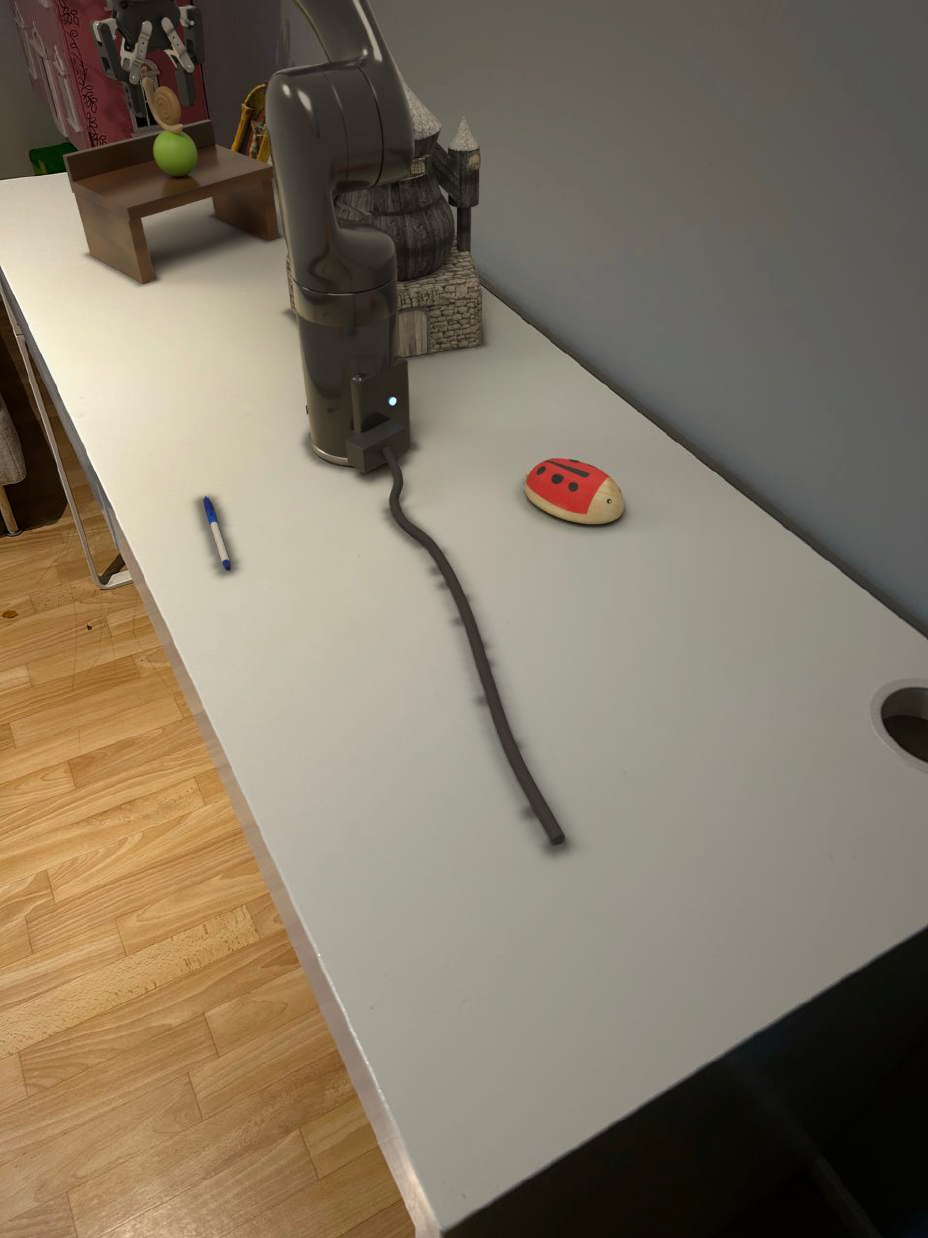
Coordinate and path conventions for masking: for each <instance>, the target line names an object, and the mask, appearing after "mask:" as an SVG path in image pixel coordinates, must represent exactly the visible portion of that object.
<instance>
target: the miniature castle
mask: <svg viewBox="0 0 928 1238" xmlns="http://www.w3.org/2000/svg"><path fill="white" fill-rule="evenodd" d="M390 54H391V56H392V59H393V61H394V64H395V66H396V69H397V71H398V74H399V77H400V79H401V82H402V85H403V88H404V91H405V93H406V97H407V100H408V103H409V108H410V112H411V116H412V121H413V127H414V136H415V155H414V160H413V164H412V167H411V169H410V171H409V173H408V174H407V175H406V176H405V177H404V178H403V179H402V180H400V181H397V182H395V183H391V184H387V185H383V186H378V187H374V188H369V189H365V190H360V191H355V192H350V193H345V194H340V195H334V196H333V201H334V208H335V213H336V216H338V217H341V218H346V219H351V220H356V221H361V222H365V223H369V224H372V225H374V226H377V227H379V228H381V229H383V230H384V231H386V232H387V233H388V234H389V235H390V236H391V237H392V239H393V240H394V243H395V246H396V255H397V287H398V314H399V336H400V356H402V357H404V358H406V357H411V356H412V357H413V356H420V355H426V354H428V355H429V354H432V353H439V352H445V351H453V350H457V349H458V350H459V349H465V348H471V347H477V346H480V345H481V344H482V328H483V327H482V325H483V324H482V322H483V321H482V320H483V291H482V285H481V282H480V279H479V278H480V277H479V275H478V272H477V269H476V266H475V262H474V258H473V255H472V250H471V249H472V208H474V207H477V206H478V205H479V204H480V168H481V165H482V163H481V162H482V156H481V152H480V151H481V145H480V143H478V141H477V140H476V138H475V137H474V135H473V133H472V131H471V129H470V126H469V123H468V120H467V118H466V115H463V116H462V118H461V121H460V123H459V126H458V128H457V131H456V133H455V135H454V137H453V138H452V139H451V141H450V142H449V143H448V144H447V151H446V149H444V147H443V146H441V144H440V143H439V142H438V140H439V137H440V134H441V131H442V123H441V121H440V120H439V119H438V118H437V117H436V116H435V115H434V114H433V113H432V112H431V111H430V110H429V109H428V108H427V107H426V105H424V103H423V102H422V101H421V100H420V99H419V98H418V96H417V95H416V94H415V93H414V92H413V91H412V89H411V88H410V87H409V86H408V85H407V83H406V81H405V79H404V77H403V75H402V74H403V73H401V71H400V68H399V67H398V65H397V63H396V61H395V59H394V57H393V55H392V53H391V52H390ZM441 188H442V190H444V191H445V193H447V199H446V197H445V196H444V194H443V193H442V190H441ZM451 207H453V208H456V227H455V218H454V213H453V210H452V208H451ZM285 259H286V260H285V269H286V271H285V272H286V278H287V287H288V293H289V295H288V296H289V303H290V309H291V310H290V311H291V314H292V315H293V316H294V317H295V318H296V310H295V300H294V292H293V283H292V274H291V266H290V259H289V255H288V253H287V254H286V258H285Z"/></svg>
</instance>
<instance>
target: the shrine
mask: <svg viewBox="0 0 928 1238" xmlns="http://www.w3.org/2000/svg"><path fill="white" fill-rule="evenodd" d="M269 80H270V78H269V79H265V80H264V83H263V84H260V85H257V86H255V88H253V89H252V90H251V91H250V92H249V94H247V97H246V99H245V100H244V103H241V110H242V112H241V117H240V121H239V124H238V127H237V130H236V134H235V136H234V137H235V138H234V141H233V143H232V146H231V148H230V150H232V151H235V152H237V153H240V154H243V155H245V156H248V157H250V158H253V159H256V160H258V161H261V162H263V163H266V164H268V162H269V159H270V157H271V156H270V150H269V145H268V138H267V131H266V123H265V94H266V89H267V85H268V83H269Z"/></svg>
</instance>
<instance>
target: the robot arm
mask: <svg viewBox="0 0 928 1238" xmlns="http://www.w3.org/2000/svg"><path fill="white" fill-rule="evenodd" d="M110 2H111V15H110V17H109V18H106V19H102V20H96V19H92V20H90V21H89V29H90V32H91V35H92V39H93V42H94V45H95V48H96V52H97V54H98V57H99V61H100V65H101V67H102V70H103V73H104V75H105V76H106V77H107V78H110V79H112V80H116V81H118V82H121V84H122V87H123V91H124V95H125V100H126V105H127V108H128V110H129V112H131V113H132V114H133V115H134V116H135V117H137V118H140V119H143V118H147V117H148V112H147V107H146V102H145V97H144V93H143V86H142V83H139V80H140V76H141V73H140V71H141V68H142V67H143V65H144V64H145V62H146V56H147V54H148V55H149V54H153V53H154V52H156V51H163V52H165V54H167V56H168V57H169V59H170V60H171V62H172V63H173V65H174V67H175V68H176V69H177V70H175V71H174V76H175V81H176V86H177V87H176V88H177V92H178V97H179V103H180V104H181V105H182V106H183V107H186V108H187V107H188V108H192V107H194V106H195V101H197V92H196V84H195V80H194V70H195V69H196V67H198V66H199V65H204V64H205V63H206V49H205V37H204V36H205V35H204V23H203V13H202V12H203V11H202V10H201V8H199V7H196V6H194V5H189V4H184V5H182V6H179V5H178V4H177V2H176V0H110ZM291 2H292V3H293V4H294V5H295V6H296V8H297V9H298V10H299V12H300V13H301V14H302V15H303V17H304V19H305V20H306V21H307V23H308V24H309V26H310V27H311V29H312V31H313V33H314V34H315V36H316V38H317V40H318V42H319V44H320V46H321V48H322V50H323V52H324V55H325V57H326V60H327V61H328V62H323V63H314V64H310V65H309V64H308V65H301V66H300V65H299V66H294V67H289V68H283V69H281V70H278V71H276V72H275V73H273V74H272V75H271V77H270V78H269V79H270V80H269V79H268V80H269V83H268V85H267V89H266V94H265V123H266V131H267V138H268V145H269V150H270V156H269V157H270V161H271V166H273V173H274V182H275V189H276V194H277V195H276V196H277V200H278V208H279V213H280V222H281V227H282V228H281V229H282V232H283V237H284V241H285V246H286V249H287V254H288V255H289V259H290V266H291V274H292V283H293V292H294V300H295V310H296V317H295V318H296V326H297V333H298V343H299V349H300V350H299V351H300V358H301V359H300V360H301V366H302V367H301V368H302V374H303V375H302V376H303V381H304V382H303V384H304V389H305V390H304V392H305V401H306V405H305V413H306V416H308V422H309V430H310V433H309V439H310V446H311V449H312V450H313V452H314V453H315V454H316V455H317V456H318V457H319V458H322V459H323V460H325V461H327V462H329V463H332V464H337V465H341V466H349V467H351V466H352V467H353V468H355V469H357V470H358V471H360V472H361V473H363V474H367V473H369V472H371V471H373V470H375V469H377V468H378V467H380V466H382V465H384V464H385V463H386V465H387V466H388V468H389V470H390V472H391V475H392V481H393V485H392V488H391V491H390V493H389V496H388V497H389V498H388V505H389V508H390V509H389V510H390V512H391V515H392V517H393V519H394V520H395V522H396V524H398V526H399V527H400V528H402V530H403V531H405V532H406V533H407V534H409V535H410V536H411V537H412V538H414V539H415V540H417V541H418V542H419V543H421V544H422V545H423V546H424V547H425V548H426V549H427V550H428V552H429V554H430V555H431V556H432V558H433V560H434V561H435V563H436V564H437V566H438V568H439V570H440V572H441V573H442V576H443V577H444V579H445V581H446V583H447V586H448V587H449V590H450V593H451V594H452V597H453V599H454V602H455V604H456V607H457V609H458V611H459V614H460V617H461V619H462V623H463V625H464V627H465V631H466V634H467V638H468V641H469V645H470V648H471V652H472V656H473V659H474V663H475V665H476V668H477V672H478V675H479V678H480V680H481V684H482V688H483V691H484V694H485V697H486V701H487V704H488V707H489V711H490V714H491V717H492V720H493V723H494V726H495V729H496V732H497V735H498V737H499V740H500V743H501V745H502V747H503V750H504V753H505V756H506V757H507V759H508V762H509V764H510V766H511V768H512V770H513V772H514V774H515V776H516V779H517V780H518V783H519V785H520V786H521V788H522V790H523V792H524V793H525V795H526V797H527V799H528V801H529V803H530V804H531V805H530V806H532V808H533V810H534V811H535V814H536V815H537V817H538V819H539V821H540V823H541V825H542V827H543V829H544V830H545V832H546V834H547V836H548V837H549V839H550V841H551V843H552V844H553V845H555V844H559V843H561V842H563V841H564V840H565V837H566V836H565V834H564V832H563V830H562V828H561V826H560V824H559V823H558V821H557V819H556V817H555V815H554V814H553V811H552V810H551V808H550V806H549V805H548V802H547V801H546V800H545V797H544V796H543V794H542V792H541V790H540V789H539V786H538V785H537V784H536V781H535V780H534V778H533V776H532V774H531V772H530V770H529V768H528V766H527V765H526V762H525V760H524V758H523V756H522V754H521V751H520V749H519V747H518V745H517V742H516V740H515V738H514V735H513V733H512V729H511V728H510V725H509V722H508V719H507V717H506V713H505V711H504V708H503V704H502V701H501V697H500V694H499V691H498V688H497V685H496V682H495V679H494V675H493V673H492V669H491V666H490V664H489V661H488V657H487V654H486V650H485V647H484V645H483V641H482V637H481V635H480V631H479V628H478V625H477V622H476V619H475V616H474V614H473V611H472V609H471V606H470V604H469V601H468V599H467V596H466V594H465V592H464V589H463V588H462V585H461V584H460V581H459V579H458V577H457V575H456V573H455V571H454V569H453V567H452V565H451V564H450V562H449V561H448V559H447V557H446V555H445V554H444V552H443V551H442V549H441V548H440V546H439V545H438V544H437V543H436V541H435V540H434V539H433V538H432V537H431V536H430V535H428V533H426V532H424V531H423V530H422V529H421V528H419V527H418V526H416V525H415V524H414V523H412V522H411V521H409V519H408V518H407V517H406V516H405V513H403V510H402V507H401V503H400V496H401V493H402V490H403V487H404V475H403V471H402V468H401V465H400V464H399V461H398V460H397V457H398V456H400V455H402V454H404V453H406V452H407V451H408V448H411V446H412V437H411V436H412V435H411V414H410V413H411V409H410V408H411V406H410V405H411V404H410V383H409V382H410V381H409V361H408V359H407V358H406V357H402V356H400V336H399V314H398V287H397V255H396V246H395V243H394V240H393V239H392V237H391V236H390V235H389V234H388V233H387V232H386V231H384V230H383V229H381V228H379V227H377V226H374V225H372V224H369V223H365V222H361V221H356V220H351V219H346V218H341V217H338V216H336V213H335V208H334V201H333V196H334V195H340V194H345V193H350V192H355V191H360V190H365V189H369V188H374V187H378V186H383V185H387V184H391V183H395V182H397V181H400V180H402V179H403V178H404V177H405V176H406V175H407V174H408V173H409V171H410V169H411V167H412V164H413V160H414V155H415V136H414V127H413V121H412V116H411V112H410V108H409V103H408V100H407V97H406V93H405V91H404V88H403V85H402V82H401V79H400V77H399V74H398V71H397V69H396V66H395V64H394V61H395V60H394V61H393V59H394V58H393V59H392V57H393V55H392V53H391V52H390V49H389V47H388V44H387V42H386V39H385V37H384V35H383V32H382V29H381V28H380V26H379V23H378V21H377V18H376V16H375V13H374V11H373V8H372V6H371V4H370V1H369V0H291ZM179 23H180V24H181V26H182V27H183V39H184V43H183V41H182V40H181V38H180V37H179V35H178V32H177V29H178V26H179ZM116 31H117V32H118V33H119V34H120V35H121V37H122V40H121V45H120V51H119V52H120V53H119V54H118V49H117V47H116V44H115V41H116V39H117V36H116ZM390 53H391V54H390ZM119 55H120V57H119ZM391 55H392V56H391Z"/></svg>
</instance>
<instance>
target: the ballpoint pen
mask: <svg viewBox="0 0 928 1238" xmlns="http://www.w3.org/2000/svg"><path fill="white" fill-rule="evenodd" d="M211 501H212V500H211V499H210V498H209V497H208V496H206V495H205V496H204V498H203V500H202V503H203V508H204V511H205V515H206V518H207V521H208V525H209V526H210V528H211V531H212V534H213V538H214V541H215V544H216V548H217V550H218V551H217V552H218V554H219V557H220V560H221V565H222V566H223V567H224V569H225V570H226V571H229V570H230V569H231V561H230V559H229V558H230V557H229V555H228V552H227V549H226V546H225V543H224V540H223V536H222V532H221V530H220V526H219V521H218V518H217V515H216V512H215V509H214V505H213V503H212V502H211Z"/></svg>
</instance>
